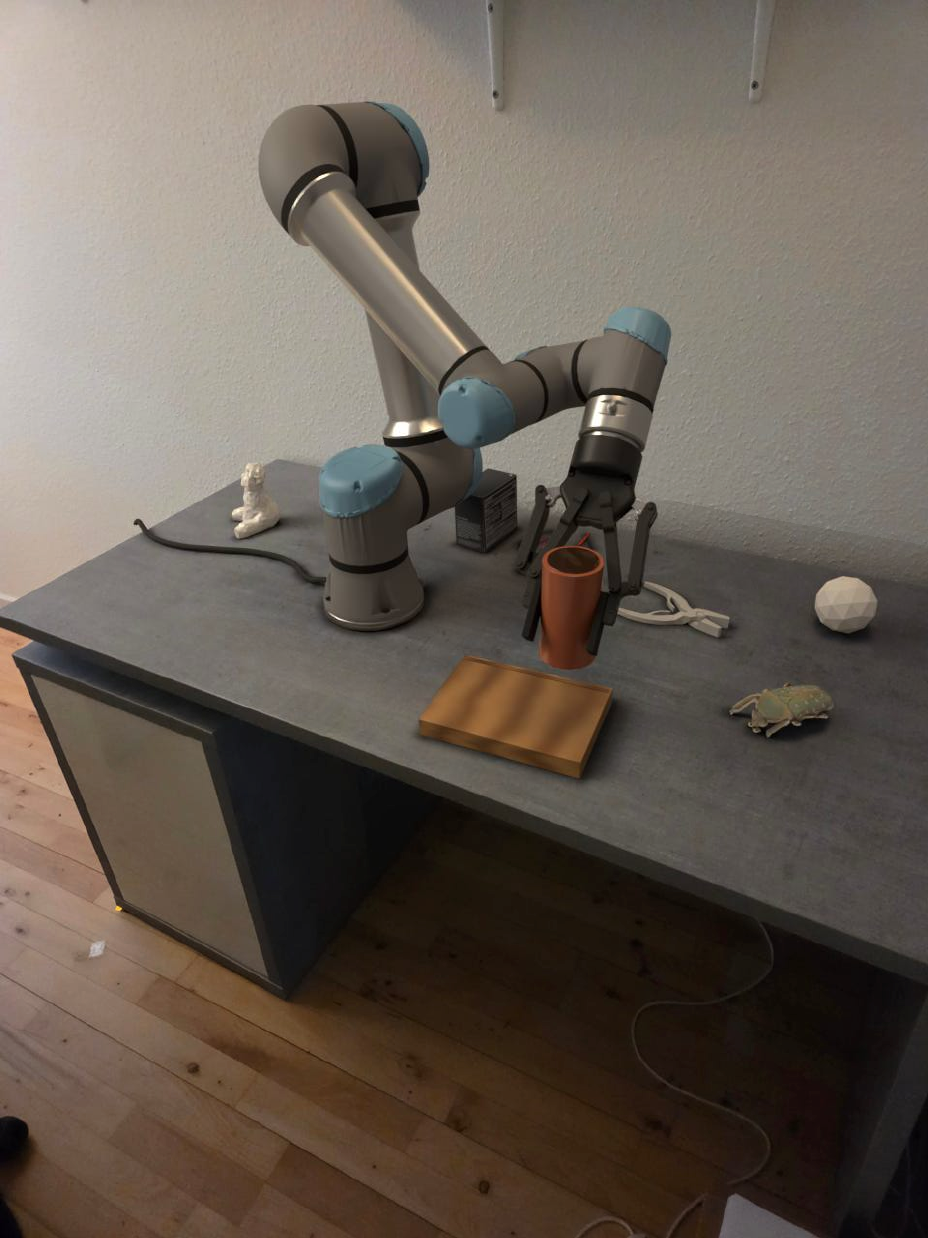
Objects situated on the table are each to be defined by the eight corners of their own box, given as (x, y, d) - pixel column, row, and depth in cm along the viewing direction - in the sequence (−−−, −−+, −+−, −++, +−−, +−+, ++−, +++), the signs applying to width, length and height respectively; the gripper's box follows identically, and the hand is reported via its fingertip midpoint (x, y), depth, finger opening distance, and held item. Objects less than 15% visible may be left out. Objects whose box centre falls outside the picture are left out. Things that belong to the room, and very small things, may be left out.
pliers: (646, 575, 122) (740, 607, 114) (645, 584, 123) (738, 616, 114) (613, 603, 115) (710, 639, 107) (613, 612, 116) (708, 648, 108)
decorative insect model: (738, 678, 101) (751, 652, 97) (824, 710, 98) (840, 685, 95) (724, 728, 95) (737, 702, 92) (814, 763, 93) (832, 739, 89)
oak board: (419, 734, 96) (418, 718, 94) (465, 669, 106) (465, 653, 105) (579, 779, 89) (580, 762, 87) (611, 704, 99) (612, 687, 98)
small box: (488, 520, 142) (487, 466, 137) (519, 529, 139) (519, 474, 133) (453, 544, 135) (451, 488, 130) (485, 554, 132) (484, 496, 126)
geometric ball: (821, 635, 115) (816, 580, 115) (883, 631, 110) (877, 574, 111) (812, 635, 108) (806, 578, 109) (877, 631, 104) (871, 570, 104)
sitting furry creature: (232, 517, 147) (219, 456, 140) (279, 510, 149) (268, 449, 142) (236, 540, 139) (222, 477, 133) (285, 532, 141) (274, 469, 135)
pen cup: (531, 662, 88) (534, 568, 81) (549, 631, 93) (553, 540, 86) (587, 675, 86) (594, 580, 79) (602, 643, 90) (611, 550, 84)
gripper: (519, 421, 87) (465, 620, 84) (698, 443, 81) (646, 660, 78) (534, 449, 94) (484, 633, 91) (699, 471, 88) (652, 671, 85)
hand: (559, 645), depth 84 cm, fingers closed on pen cup, 6 cm apart
